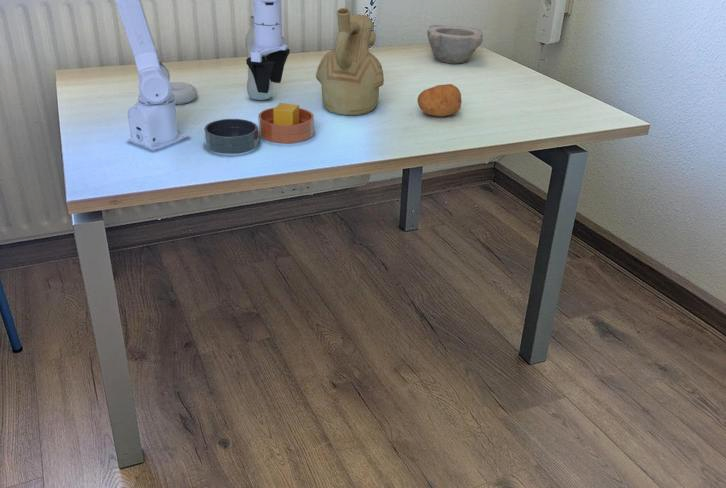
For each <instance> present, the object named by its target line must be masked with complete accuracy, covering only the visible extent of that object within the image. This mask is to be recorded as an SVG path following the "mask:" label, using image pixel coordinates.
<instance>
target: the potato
mask: <svg viewBox="0 0 726 488" xmlns="http://www.w3.org/2000/svg"><path fill="white" fill-rule="evenodd" d="M416 101H417V105H418V107H419V109H420V110H421V111H422V112H423V113H425V114H426V115H429V116H432V117H440V118H443V117H448V116H451V115H454V114H456V113H457V112H458V111H459V110H460V109H461V107H462V94H461V91H460V89H459V88H458V87H457V86H456V85H454V84H452V83H447V84H437V85H435V86H432V87H429V88H426V89H424V90H423V91H421V92H420V93H419V94H418V96H417V100H416Z"/></svg>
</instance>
